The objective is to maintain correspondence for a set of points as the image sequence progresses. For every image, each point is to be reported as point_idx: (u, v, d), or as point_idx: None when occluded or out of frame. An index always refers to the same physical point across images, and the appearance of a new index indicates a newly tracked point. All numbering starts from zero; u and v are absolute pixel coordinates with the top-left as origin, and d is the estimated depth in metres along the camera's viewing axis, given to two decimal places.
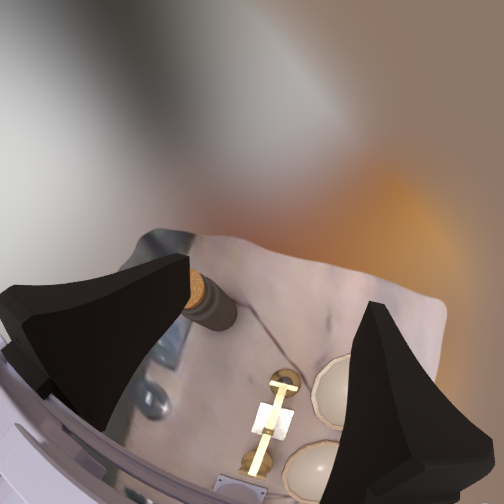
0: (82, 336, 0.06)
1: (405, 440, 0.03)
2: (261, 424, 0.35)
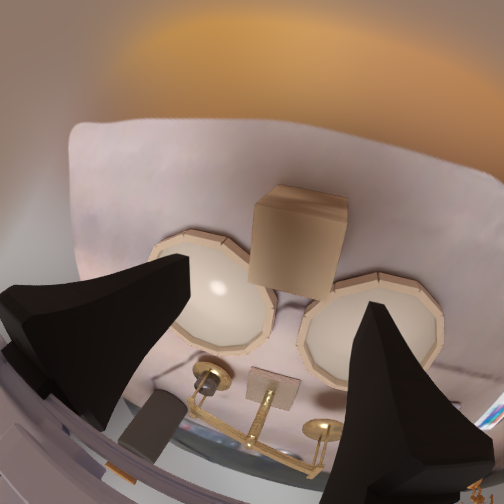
0: (82, 336, 0.06)
1: (405, 440, 0.03)
2: (275, 402, 0.26)
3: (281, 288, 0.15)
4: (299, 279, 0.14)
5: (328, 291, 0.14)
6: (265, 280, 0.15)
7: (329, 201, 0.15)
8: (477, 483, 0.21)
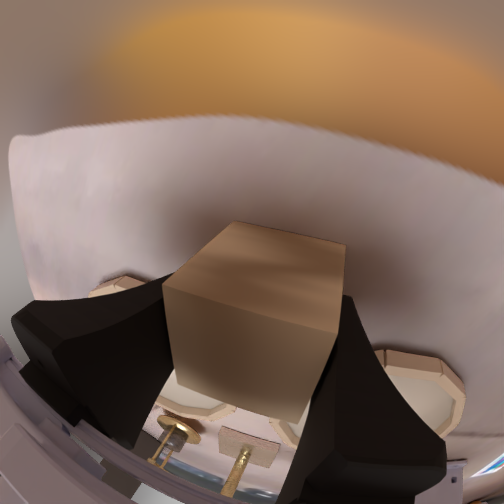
0: (116, 356, 0.06)
1: (335, 431, 0.04)
2: (252, 460, 0.20)
3: (226, 400, 0.08)
4: (251, 396, 0.08)
5: (299, 415, 0.08)
6: (201, 388, 0.09)
7: (312, 259, 0.09)
8: None
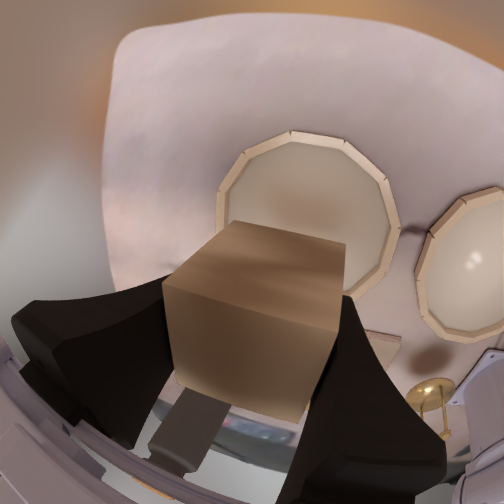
0: (116, 356, 0.06)
1: (335, 431, 0.03)
2: None
3: (226, 400, 0.08)
4: (252, 396, 0.08)
5: (299, 414, 0.08)
6: (201, 387, 0.09)
7: (312, 258, 0.09)
8: None
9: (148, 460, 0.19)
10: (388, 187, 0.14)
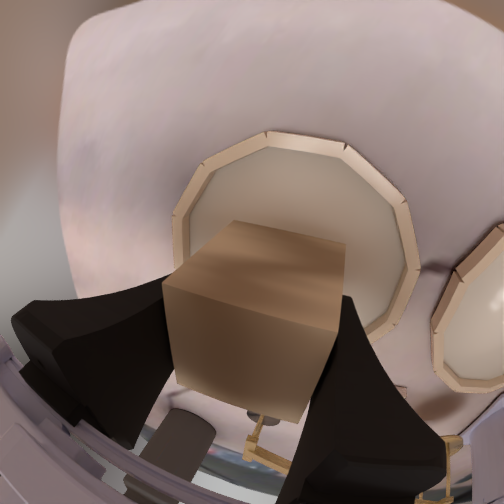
0: (116, 356, 0.06)
1: (335, 431, 0.04)
2: None
3: (226, 400, 0.08)
4: (251, 396, 0.08)
5: (299, 414, 0.08)
6: (201, 387, 0.09)
7: (312, 258, 0.09)
8: None
9: None
10: (407, 214, 0.10)
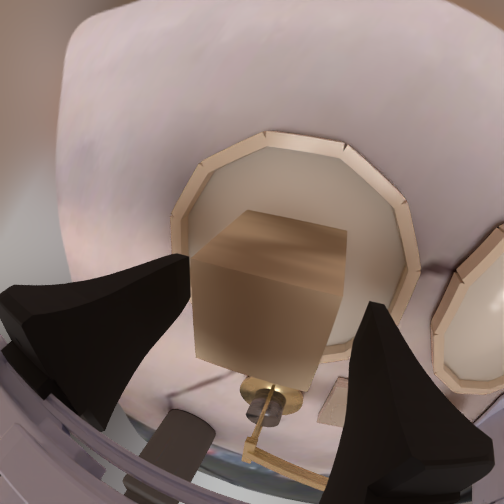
0: (82, 336, 0.06)
1: (405, 440, 0.03)
2: None
3: (241, 370, 0.10)
4: (266, 364, 0.09)
5: (309, 381, 0.09)
6: (218, 359, 0.10)
7: (318, 241, 0.10)
8: None
9: None
10: (408, 214, 0.09)
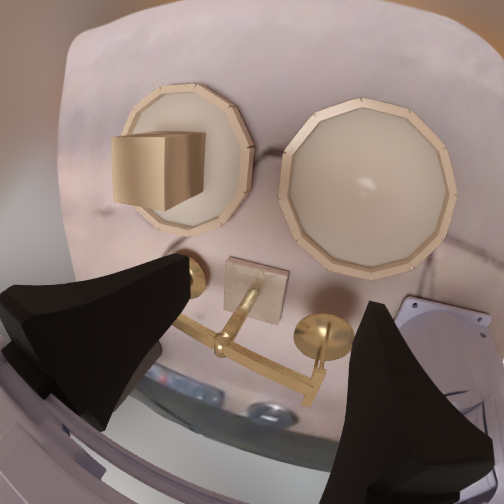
0: (82, 336, 0.06)
1: (405, 440, 0.03)
2: (260, 311, 0.23)
3: (133, 203, 0.17)
4: (142, 192, 0.16)
5: (163, 200, 0.16)
6: (123, 197, 0.17)
7: (179, 133, 0.17)
8: None
9: None
10: (232, 113, 0.16)
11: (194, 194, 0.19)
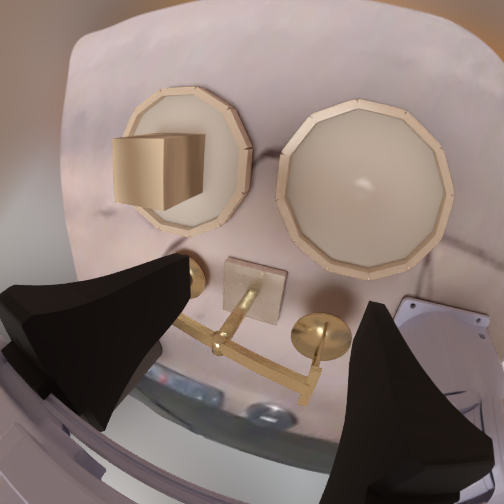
0: (82, 336, 0.06)
1: (405, 440, 0.03)
2: (258, 311, 0.23)
3: (133, 203, 0.17)
4: (142, 192, 0.17)
5: (162, 200, 0.16)
6: (123, 197, 0.17)
7: None
8: None
9: None
10: (231, 115, 0.17)
11: (193, 195, 0.20)
